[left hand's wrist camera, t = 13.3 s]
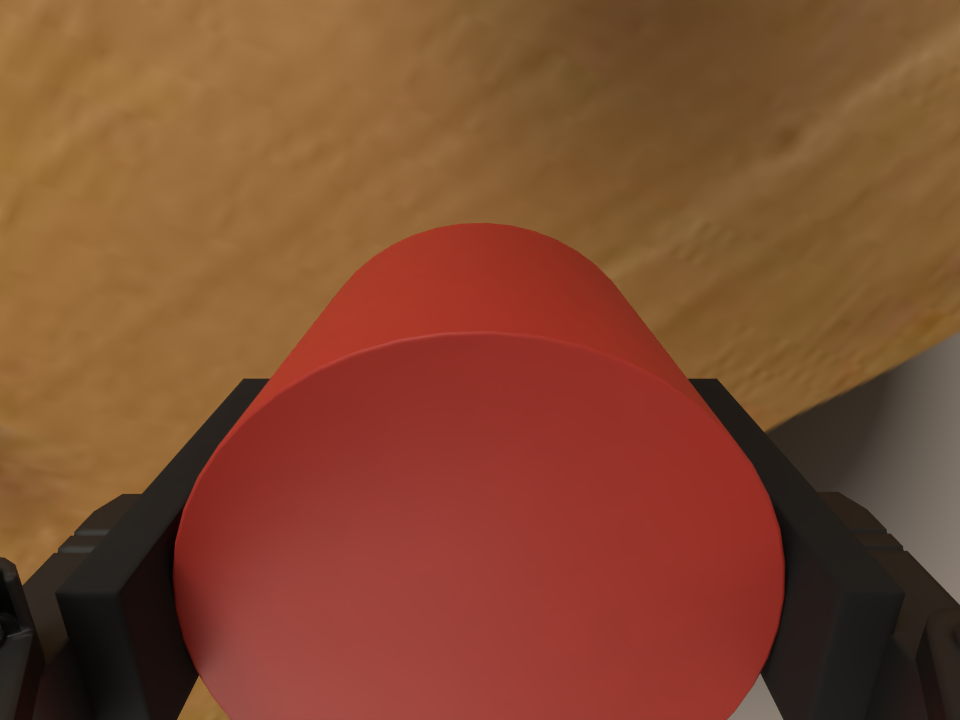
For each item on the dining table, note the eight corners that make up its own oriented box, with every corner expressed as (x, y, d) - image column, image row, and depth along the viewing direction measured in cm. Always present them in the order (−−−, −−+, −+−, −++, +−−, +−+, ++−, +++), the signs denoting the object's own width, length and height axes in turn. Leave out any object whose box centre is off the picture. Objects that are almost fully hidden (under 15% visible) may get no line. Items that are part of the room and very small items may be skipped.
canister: (649, 205, 15) (816, 300, 7) (648, 520, 18) (764, 805, 10) (279, 240, 15) (86, 364, 8) (341, 544, 18) (248, 837, 11)
